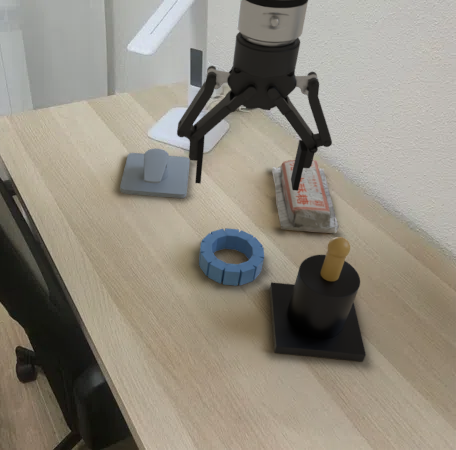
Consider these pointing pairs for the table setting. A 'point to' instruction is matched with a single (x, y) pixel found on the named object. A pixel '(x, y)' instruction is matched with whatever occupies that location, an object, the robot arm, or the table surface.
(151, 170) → the shower valve
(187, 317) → the table surface
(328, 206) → the packaged product
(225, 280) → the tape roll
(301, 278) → the tape holder
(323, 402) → the table surface
